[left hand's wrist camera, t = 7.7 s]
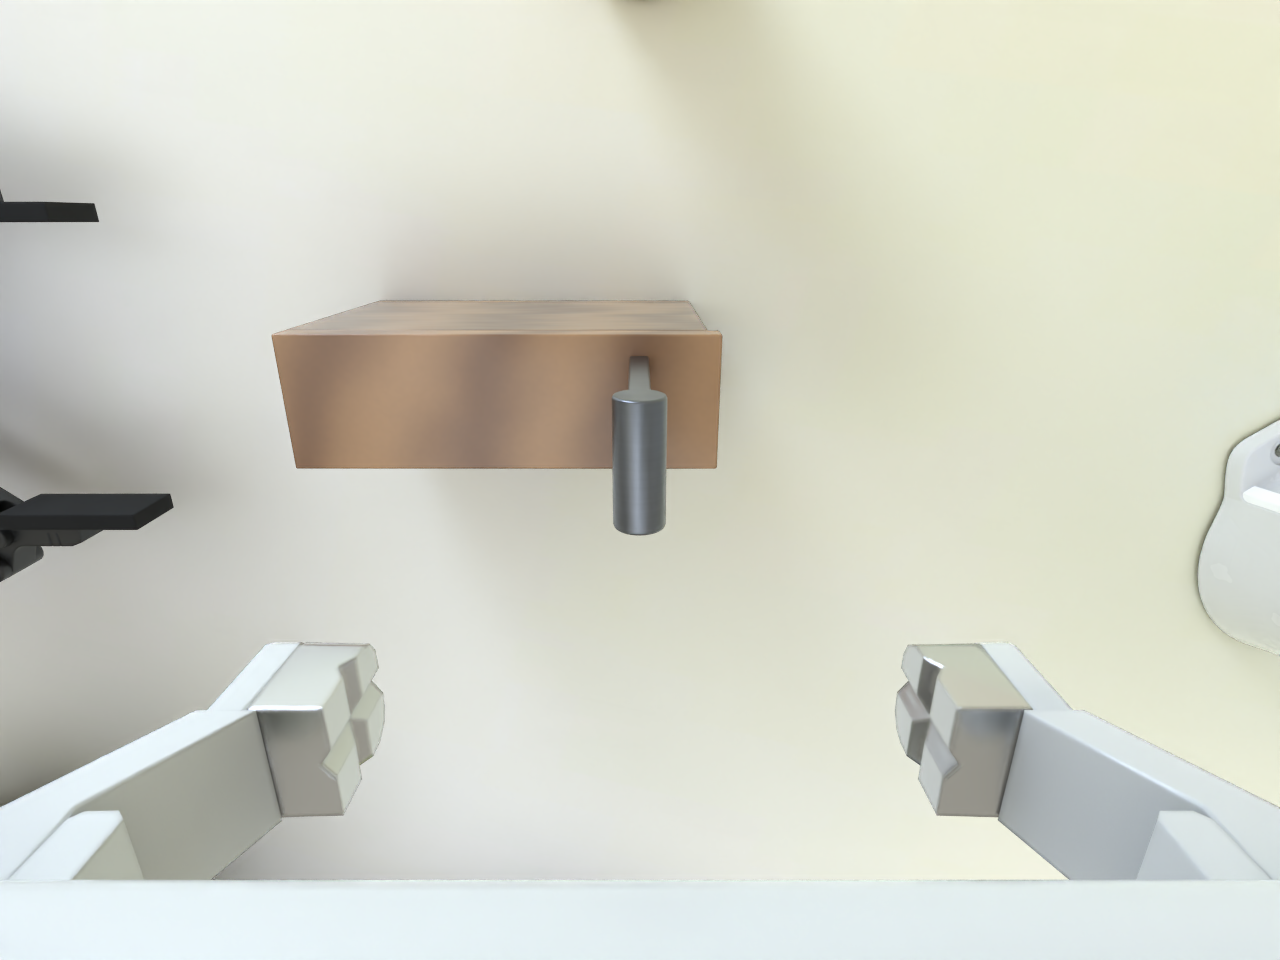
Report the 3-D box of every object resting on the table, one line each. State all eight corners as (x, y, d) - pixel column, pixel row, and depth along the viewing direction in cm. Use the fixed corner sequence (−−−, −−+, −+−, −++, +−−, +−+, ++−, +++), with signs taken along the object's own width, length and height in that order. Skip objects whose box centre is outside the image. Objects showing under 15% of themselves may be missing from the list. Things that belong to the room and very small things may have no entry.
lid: (719, 330, 26) (755, 378, 18) (714, 460, 28) (744, 556, 20) (284, 329, 26) (128, 378, 18) (307, 460, 28) (175, 556, 20)
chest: (689, 300, 36) (707, 330, 26) (686, 398, 38) (703, 459, 28) (379, 300, 36) (285, 329, 26) (392, 398, 38) (308, 459, 28)
